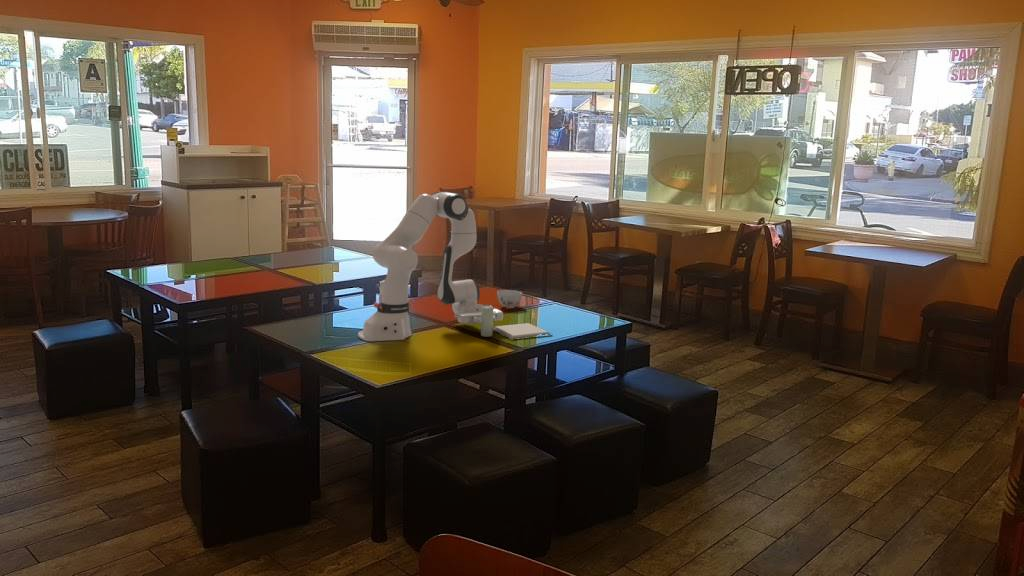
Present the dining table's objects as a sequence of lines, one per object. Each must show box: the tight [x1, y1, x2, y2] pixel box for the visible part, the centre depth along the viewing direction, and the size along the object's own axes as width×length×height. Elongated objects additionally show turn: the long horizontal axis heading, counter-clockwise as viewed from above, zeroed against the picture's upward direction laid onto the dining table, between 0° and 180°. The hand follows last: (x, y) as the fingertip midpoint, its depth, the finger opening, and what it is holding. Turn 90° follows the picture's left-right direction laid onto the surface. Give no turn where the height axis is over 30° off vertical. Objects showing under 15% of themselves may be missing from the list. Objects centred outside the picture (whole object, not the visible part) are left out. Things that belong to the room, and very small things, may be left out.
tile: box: [493, 323, 552, 340], centre depth 346 cm, size 20×20×2 cm
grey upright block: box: [480, 306, 494, 338], centre depth 336 cm, size 5×5×12 cm
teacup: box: [496, 289, 523, 308], centre depth 395 cm, size 15×12×8 cm
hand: (488, 320), depth 335 cm, fingers closed on grey upright block, 5 cm apart
